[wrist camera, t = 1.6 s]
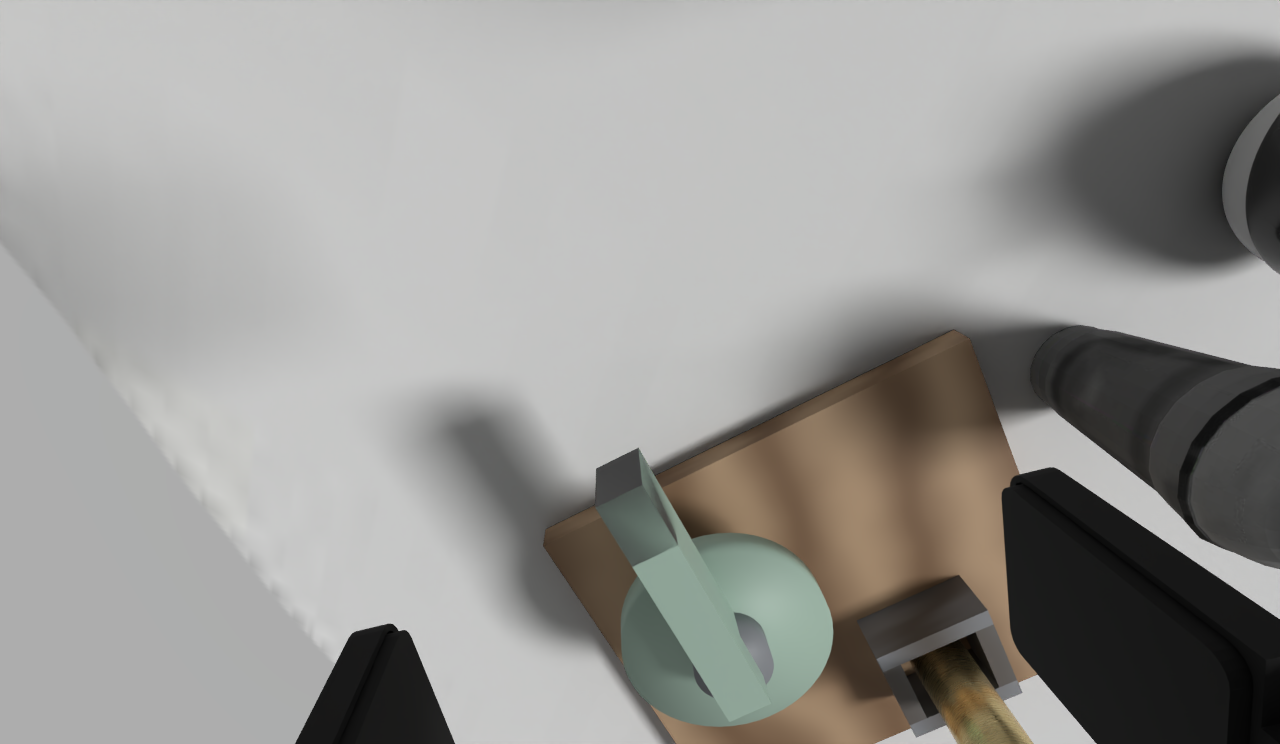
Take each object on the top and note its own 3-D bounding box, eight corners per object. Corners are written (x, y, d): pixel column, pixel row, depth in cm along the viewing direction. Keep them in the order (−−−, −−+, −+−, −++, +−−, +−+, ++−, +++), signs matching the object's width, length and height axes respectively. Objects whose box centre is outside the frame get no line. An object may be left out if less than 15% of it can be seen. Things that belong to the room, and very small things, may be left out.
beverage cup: (1163, 376, 36) (1772, 636, 17) (1042, 455, 37) (1489, 777, 18) (1106, 270, 34) (1728, 433, 15) (980, 356, 35) (1412, 607, 16)
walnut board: (953, 329, 35) (1008, 359, 30) (1068, 635, 42) (1127, 698, 37) (545, 529, 37) (537, 585, 33) (716, 786, 44) (729, 863, 39)
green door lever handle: (852, 651, 34) (890, 729, 30) (676, 729, 35) (687, 815, 31) (718, 391, 29) (739, 437, 25) (518, 491, 30) (503, 552, 26)
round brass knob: (945, 599, 38) (1107, 816, 26) (966, 647, 39) (1130, 876, 27) (883, 627, 39) (1013, 854, 26) (906, 673, 40) (1040, 911, 28)
